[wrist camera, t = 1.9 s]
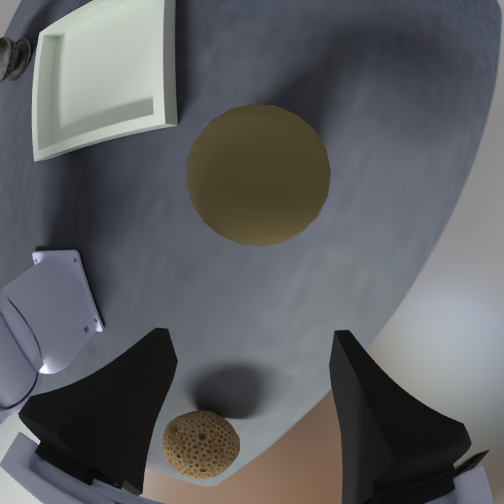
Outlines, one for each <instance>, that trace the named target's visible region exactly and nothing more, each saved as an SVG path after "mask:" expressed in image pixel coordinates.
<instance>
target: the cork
mask: <svg viewBox="0 0 504 504" xmlns="http://www.w3.org/2000/svg"><path fill="white" fill-rule="evenodd" d="M330 175H331V171H330V166H329V160H328V155H327V151H326V149H325V147H324V145H323V143H322V142H321V140H320V138H319V136H318V135H317V133H316V131H315V130H314V129H313V128H312V127H311V126H310V125H308V124H307V123H306V122H305V121H304V120H303V119H302V118H300V117H299V116H298V115H297V114H294V113H292V112H290V111H287V110H285V109H282V108H280V107H278V106H274V105H261V104H249V105H245V106H241V107H237V108H233V109H230V110H228V111H226V112H225V113H223V114H221V115H220V116H218V117H217V118H215V119H214V120H212V121H211V122H209V123H208V125H207V126H206V127H205V128H204V130H203V131H202V132H201V133H200V135H199V136H198V137H197V138H196V140H195V141H194V144H193V146H192V149H191V152H190V154H189V157H188V160H187V170H186V185H187V188H188V192H189V195H190V199H191V202H192V205H193V206H194V208H195V209H196V211H197V212H198V214H199V215H200V217H201V218H202V220H203V221H204V222H205V223H206V224H207V225H208V226H209V227H211V228H212V229H213V230H214V231H216V232H217V233H218V234H219V235H220V236H223V237H225V238H228V239H230V240H232V241H235V242H237V243H240V244H247V245H256V246H265V245H270V244H275V243H280V242H284V241H286V240H288V239H290V238H291V237H293V236H295V235H297V234H299V233H301V232H302V231H303V230H304V229H305V228H306V227H307V226H308V225H309V224H310V223H311V222H312V221H313V220H314V219H315V218H316V217H317V216H318V214H319V212H320V210H321V208H322V206H323V204H324V202H325V200H326V198H327V196H328V190H329V183H330Z"/></svg>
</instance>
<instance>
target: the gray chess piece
mask: <svg viewBox="0 0 504 504" xmlns="http://www.w3.org/2000/svg"><path fill="white" fill-rule="evenodd" d="M30 55H31V45H30V42H29V41H28V39H25V38H24V39H20V40H18V41H17V42H16V43H15V42H14V41H13V40H10V39H8V38H7V37H1V38H0V83H1V82H2V81H4V80H5V79H6V78H7V79H8V80H10V81H14V80H17V79H18V78H19V77H20V76H21V75H22V74H23V73H24V71H25V69H26V68H27V65H28V63H29V59H30Z"/></svg>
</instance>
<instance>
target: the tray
mask: <svg viewBox="0 0 504 504" xmlns="http://www.w3.org/2000/svg"><path fill="white" fill-rule="evenodd" d="M175 7H176V0H93V1H91V2H89V3H87V4H85V5H84V6H82V7H80V8H78V9H76V10H75V11H73V12H71V13H69V14H68V15H66V16H64V17H63V18H61V19H60V20H58V21H56V22H55V23H53V24H52V25H50V26H49V27H47V28H46V29H44V30H43V31H41V32H40V34H39V39H38V45H37V52H36V59H35V67H34V78H33V93H32V136H33V152H34V162H35V161H40V160H45V159H50V158H53V157H56V156H59V155H62V154H65V153H68V152H71V151H74V150H77V149H80V148H83V147H87V146H90V145H94V144H97V143H101V142H104V141H108V140H112V139H116V138H120V137H124V136H128V135H132V134H137V133H141V132H146V131H151V130H156V129H161V128H167V127H173V126H178V119H177V101H176V75H175Z"/></svg>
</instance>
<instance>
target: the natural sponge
mask: <svg viewBox="0 0 504 504" xmlns="http://www.w3.org/2000/svg"><path fill="white" fill-rule="evenodd" d="M162 443H163V451H164V454H165V457H166V459H167V461H168V462H169V464H170V465H171V466H172V467H173V468H174V469H175V470H176V471H177V472H179V473H181V474H183V475H185V476H188V477H190V478H192V479H198V480H203V479H208V478H212V477H214V476H217V475H219V474H221V473H222V472H224V471H225V470H226V469H227V468H228V467H229V466H230V465H231V464H232V463H233V462H234V460H235V459H236V457H237V456H238V454H239V451H240V439H239V436H238V435H237V433H236V432H235V430H234V428H233V427H232V425H231V424H230V423H229V422H228V421H227V420H225V419H224V418H222V417H220V416H218V415H217V414H216V413H214V412H212V411H209V410H199V411H193V412H189V413H186V414H184V415H181V416H178V417H177V418H175V419H174V420H172V421H171V422H170V423H169V424H168V425H167V427H166V429H165V432H164V435H163V442H162Z"/></svg>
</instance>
